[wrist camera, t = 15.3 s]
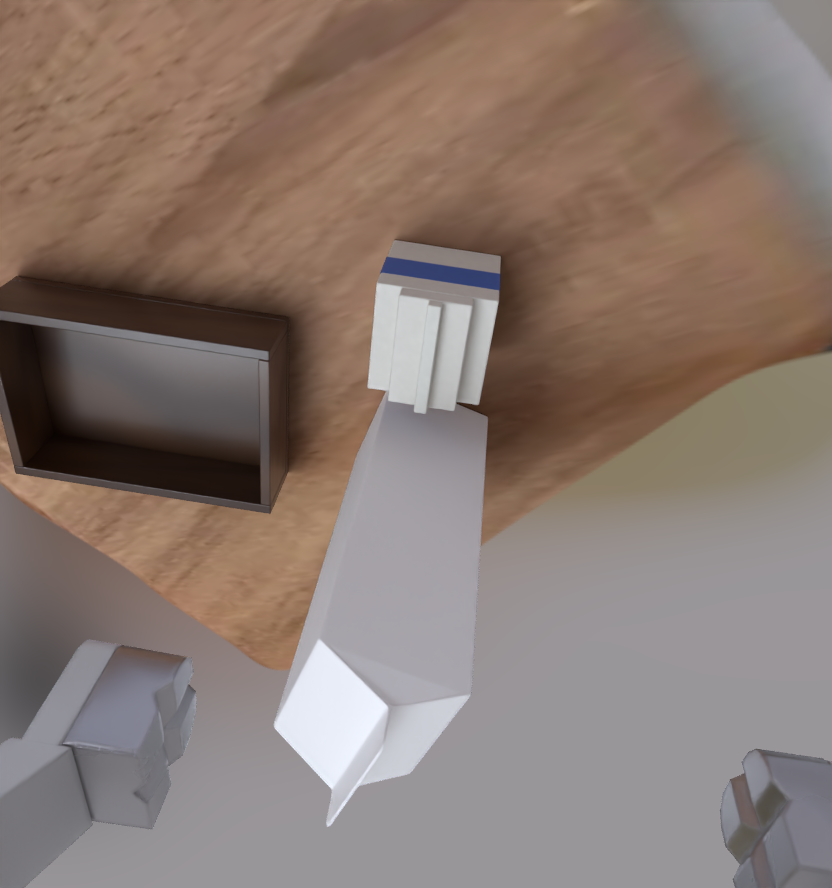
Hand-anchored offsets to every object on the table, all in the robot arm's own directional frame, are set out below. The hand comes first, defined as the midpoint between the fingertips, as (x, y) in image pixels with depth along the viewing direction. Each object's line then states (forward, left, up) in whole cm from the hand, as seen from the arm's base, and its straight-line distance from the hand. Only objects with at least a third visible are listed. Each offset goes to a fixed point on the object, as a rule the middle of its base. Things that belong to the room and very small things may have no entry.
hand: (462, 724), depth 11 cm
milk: (+15, -2, -29) cm, 33 cm away
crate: (+14, -18, -29) cm, 37 cm away
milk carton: (+6, -2, -29) cm, 30 cm away
